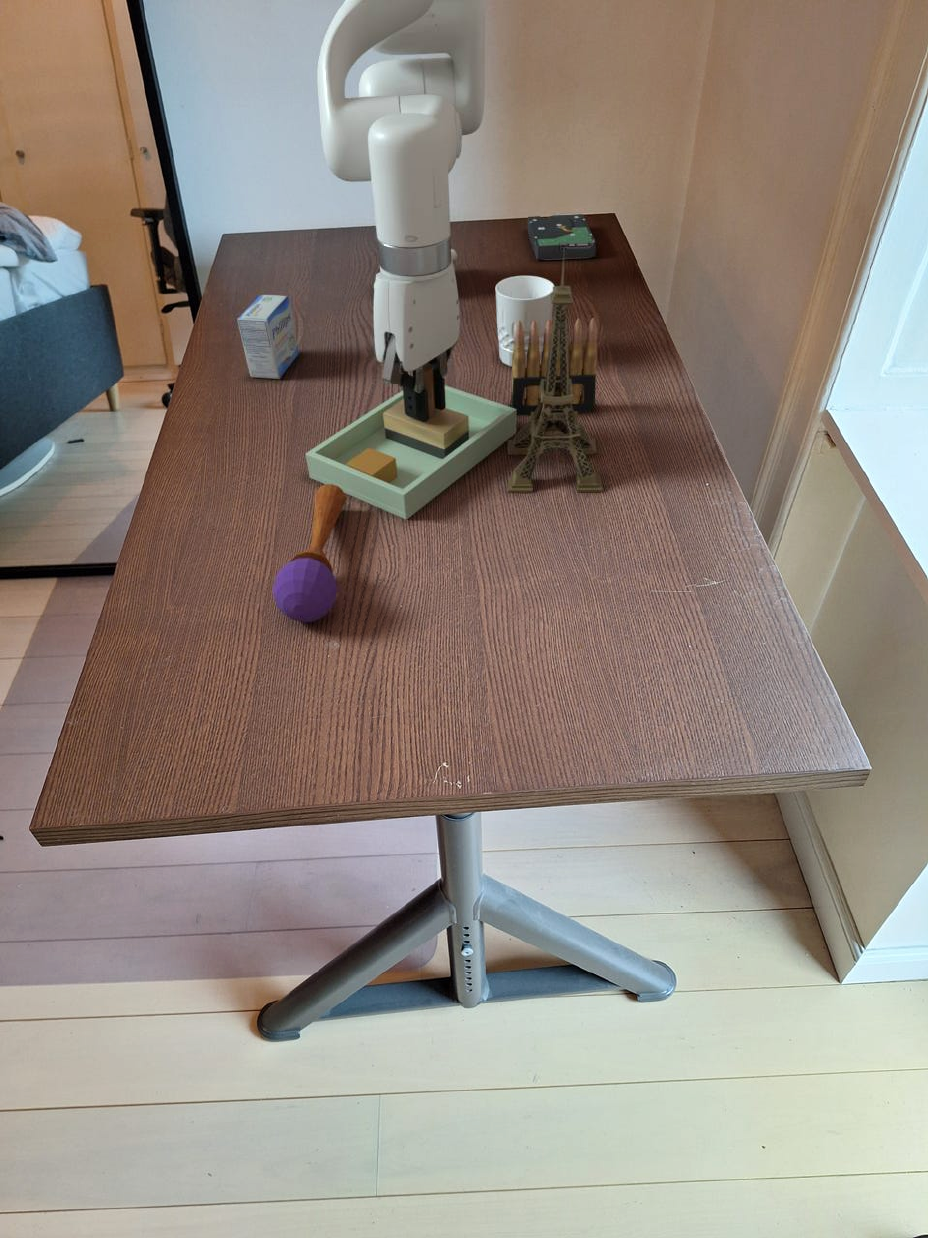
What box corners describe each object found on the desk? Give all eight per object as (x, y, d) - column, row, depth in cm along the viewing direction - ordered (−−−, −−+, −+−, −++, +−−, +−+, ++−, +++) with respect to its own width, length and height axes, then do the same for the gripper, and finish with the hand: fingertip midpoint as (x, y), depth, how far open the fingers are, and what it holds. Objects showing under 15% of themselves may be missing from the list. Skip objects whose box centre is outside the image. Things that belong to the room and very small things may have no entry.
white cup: (559, 350, 121) (563, 280, 114) (539, 375, 116) (542, 302, 109) (508, 341, 123) (509, 271, 117) (486, 364, 118) (485, 293, 111)
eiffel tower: (507, 442, 104) (509, 228, 86) (594, 441, 103) (613, 226, 86) (508, 492, 96) (510, 269, 79) (602, 492, 95) (624, 267, 78)
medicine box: (279, 380, 117) (267, 319, 111) (249, 378, 118) (236, 317, 112) (299, 354, 122) (289, 294, 116) (270, 352, 123) (259, 293, 117)
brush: (410, 420, 106) (404, 348, 100) (469, 441, 103) (467, 368, 96) (385, 438, 104) (377, 365, 97) (445, 460, 100) (441, 386, 93)
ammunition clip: (592, 404, 110) (600, 313, 101) (594, 411, 108) (602, 320, 100) (509, 407, 110) (510, 317, 101) (511, 415, 108) (512, 324, 100)
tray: (423, 400, 112) (422, 377, 109) (516, 432, 105) (516, 408, 103) (309, 477, 99) (305, 453, 97) (406, 519, 93) (404, 494, 91)
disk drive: (525, 232, 156) (536, 261, 145) (526, 216, 154) (537, 244, 143) (581, 229, 156) (596, 258, 145) (582, 212, 154) (598, 241, 143)
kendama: (360, 477, 92) (334, 588, 76) (355, 523, 96) (330, 638, 80) (304, 469, 91) (267, 579, 76) (302, 516, 95) (266, 630, 79)
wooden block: (371, 465, 99) (368, 447, 98) (397, 476, 98) (395, 457, 96) (348, 482, 97) (345, 463, 95) (375, 493, 95) (372, 474, 93)
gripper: (433, 223, 94) (441, 376, 107) (335, 271, 85) (356, 433, 97) (489, 235, 91) (490, 392, 103) (393, 287, 81) (407, 452, 94)
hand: (425, 410), depth 100 cm, fingers closed on brush, 2 cm apart
